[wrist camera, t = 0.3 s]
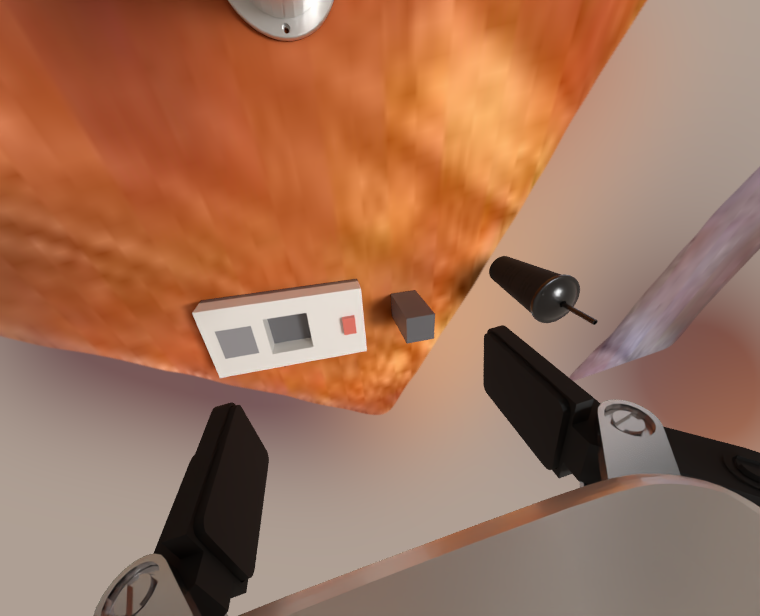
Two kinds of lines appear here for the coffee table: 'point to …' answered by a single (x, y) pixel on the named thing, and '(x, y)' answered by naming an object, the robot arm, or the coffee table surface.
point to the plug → (412, 316)
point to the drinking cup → (538, 289)
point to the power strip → (282, 326)
